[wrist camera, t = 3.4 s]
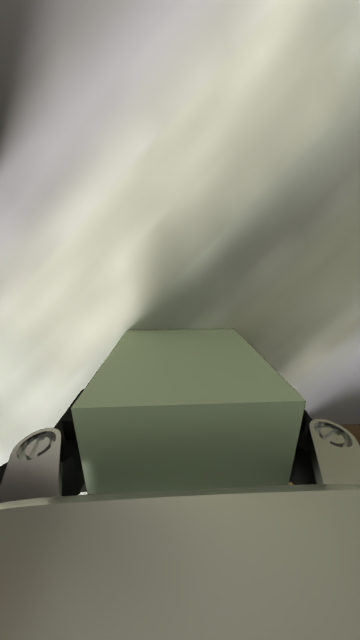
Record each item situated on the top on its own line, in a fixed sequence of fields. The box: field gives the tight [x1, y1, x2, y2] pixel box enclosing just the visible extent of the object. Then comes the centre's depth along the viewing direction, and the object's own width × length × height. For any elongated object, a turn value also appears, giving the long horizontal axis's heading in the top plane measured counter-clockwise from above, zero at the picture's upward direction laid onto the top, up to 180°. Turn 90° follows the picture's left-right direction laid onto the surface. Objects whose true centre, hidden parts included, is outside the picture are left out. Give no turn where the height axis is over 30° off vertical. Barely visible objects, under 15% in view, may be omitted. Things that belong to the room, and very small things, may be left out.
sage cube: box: [71, 329, 306, 495], centre depth 8 cm, size 6×6×6 cm
